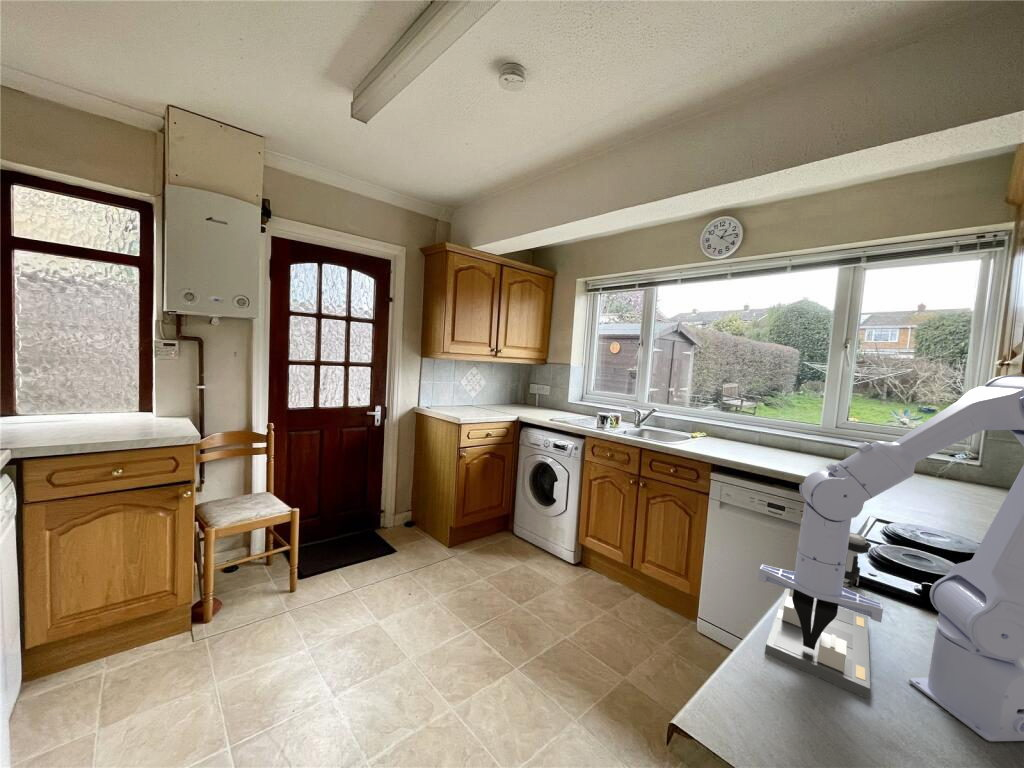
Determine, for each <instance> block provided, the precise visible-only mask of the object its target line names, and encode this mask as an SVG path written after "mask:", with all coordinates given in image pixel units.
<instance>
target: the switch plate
mask: <svg viewBox="0 0 1024 768" xmlns="http://www.w3.org/2000/svg"><path fill="white" fill-rule="evenodd" d="M784 588H785V587H784ZM789 592H790V589H788V588H785V589H784V592H783V593H782V594H783V595H782V596H781V600H780V603H779V606H778V609H777V611H776V615H775V618H774V620H773V623H772V626H771V629H770V632H769V635H768V638H767V639H766V643H765V648H764V655H767V656H770V657H772V658H774V659H776V660H778V661H781V662H783V663H785V664H787V665H789V666H792V667H794V668H796V669H799V670H800V671H803V672H805V673H808V674H811V675H812V676H814V677H817V678H819V679H822V680H823V679H824V680H823V681H826V682H828V683H831V684H833V685H835V686H837V687H839V688H842V689H844V690H847V691H849V692H850V693H853V694H855V695H857V696H860V697H862V698H864V699H867V700H869V699H870V695H871V694H870V693H871V675H870V671H871V670H870V652H869V651H870V647H869V646H870V645H869V624H868V622H869V621H868V620H869V619H868V617H869V616H866V615H863V614H860V613H857V612H855V611H852V610H849V609H846V608H843V607H840V606H838V612H837V616H836V617H835V618H834V620H833V621H831V622H830V623H829V624H828V625H827V627H826V628H825V629H824V630H823V632H824V633H827V634H829V635H832V634H833V635H836V637H837V638H840V639H842V640H845V641H847V646H846V659H845V666H844V672H842V671H839V670H837V669H835V668H832V667H830V666H828V665H825V664H823V663H821V662H818V661H817V658H818V651H819V643H820V637H821V635H820V636H819V638H818V640H817V643H816V645H815V649H814V650H813V649H810V648H808V647H805V646H803V634H802V628H801V627H799V626H797V625H794V624H792V623H789V622H786V621H784V620H782V618H783V610H784V604H785V601H786V598H787V596H789ZM816 601H817V598H814V603H813V610H812V618H811V631H812V627H813V623H814V615H815V607H816Z"/></svg>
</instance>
